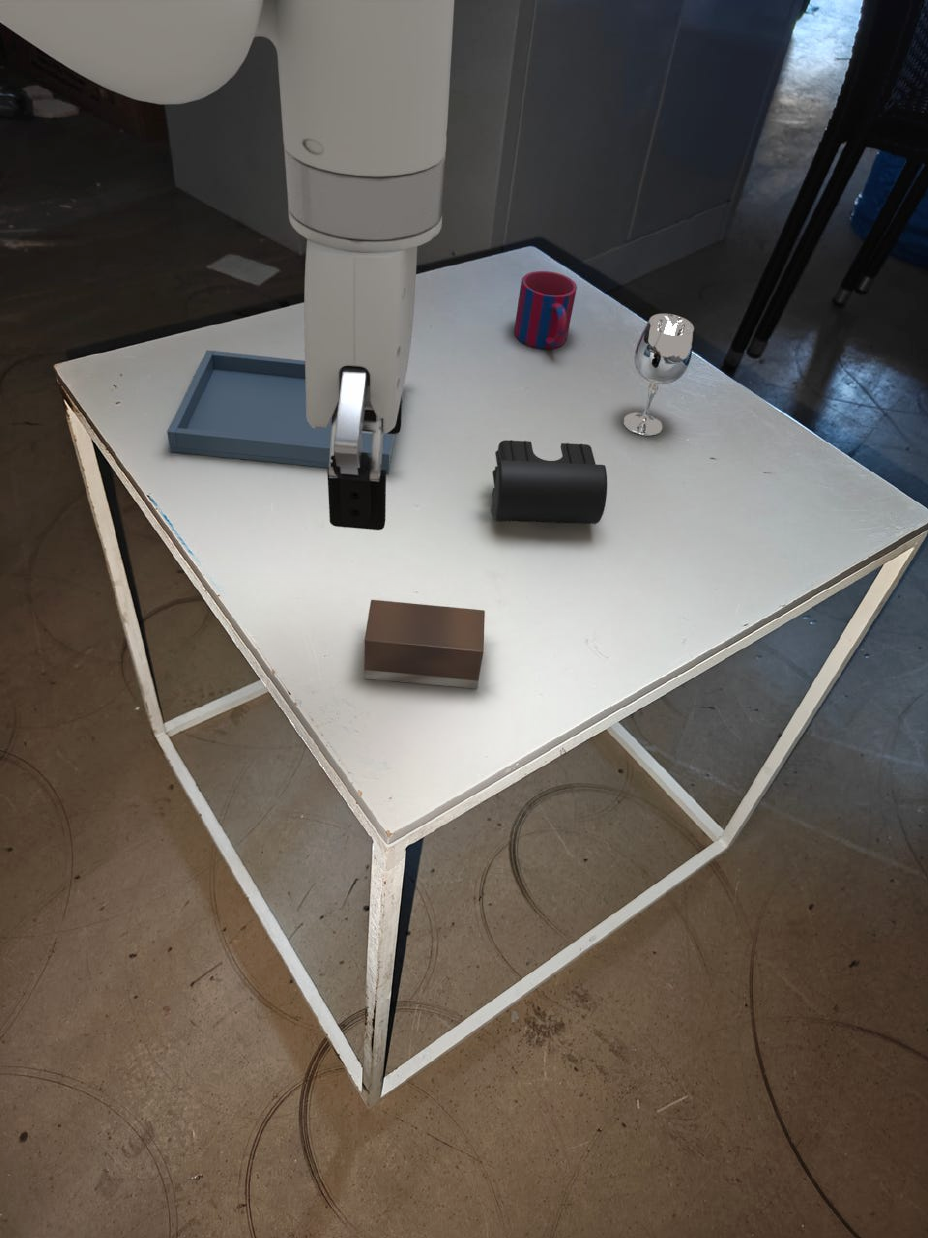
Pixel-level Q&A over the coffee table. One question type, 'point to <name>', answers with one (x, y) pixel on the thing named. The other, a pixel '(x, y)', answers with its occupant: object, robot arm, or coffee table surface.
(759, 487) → the coffee table surface
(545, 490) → the end cap
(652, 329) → the wineglass
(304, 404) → the tray
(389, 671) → the eraser
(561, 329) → the mug
